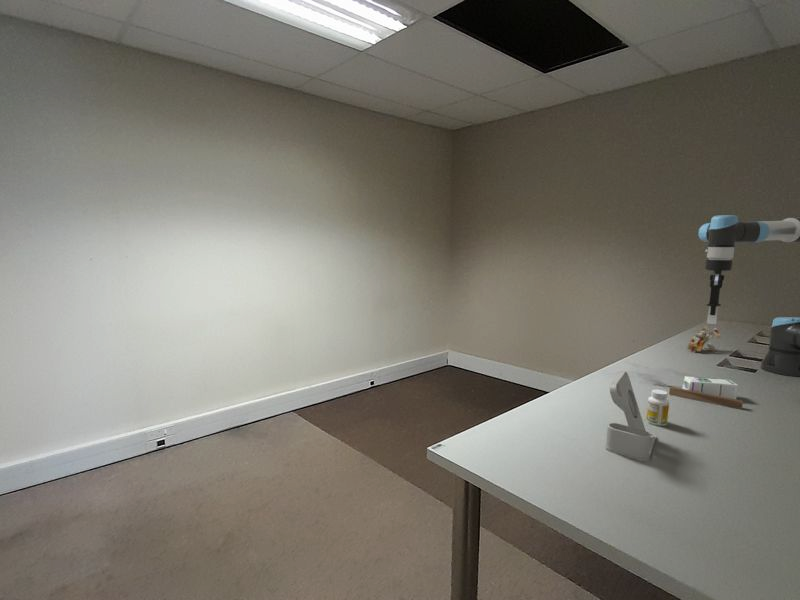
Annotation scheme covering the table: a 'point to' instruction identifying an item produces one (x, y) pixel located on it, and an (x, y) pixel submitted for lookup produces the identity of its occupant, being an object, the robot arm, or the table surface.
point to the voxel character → (702, 340)
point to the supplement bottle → (658, 408)
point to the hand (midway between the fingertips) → (711, 323)
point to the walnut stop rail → (706, 397)
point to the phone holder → (633, 436)
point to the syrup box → (711, 386)
